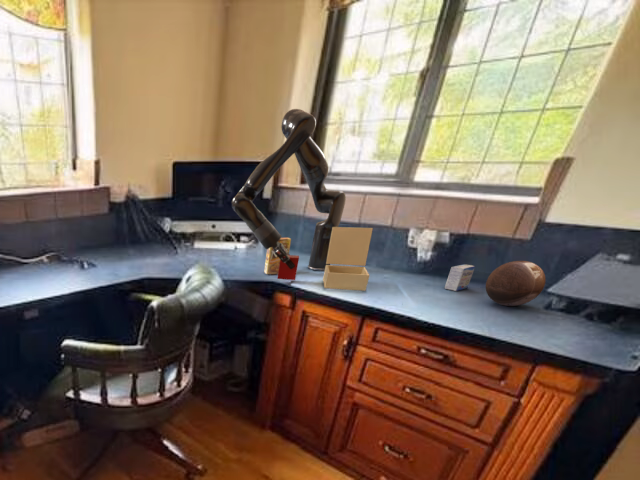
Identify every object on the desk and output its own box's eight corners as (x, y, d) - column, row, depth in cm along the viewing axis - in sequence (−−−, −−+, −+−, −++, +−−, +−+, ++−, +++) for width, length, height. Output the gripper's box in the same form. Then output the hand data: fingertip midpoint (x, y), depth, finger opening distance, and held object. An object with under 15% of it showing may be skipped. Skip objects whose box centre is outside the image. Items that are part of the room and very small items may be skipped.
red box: (277, 276, 178) (281, 254, 174) (295, 277, 176) (298, 255, 172) (277, 278, 175) (280, 256, 170) (295, 280, 172) (299, 257, 168)
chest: (365, 292, 162) (369, 275, 159) (324, 290, 166) (327, 272, 163) (360, 283, 173) (364, 266, 170) (322, 281, 178) (325, 264, 174)
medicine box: (455, 291, 161) (464, 268, 157) (443, 288, 164) (451, 266, 160) (467, 288, 164) (475, 266, 160) (455, 285, 167) (463, 263, 163)
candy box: (266, 274, 188) (271, 239, 181) (263, 272, 192) (268, 237, 185) (286, 274, 188) (291, 238, 181) (282, 271, 192) (288, 237, 185)
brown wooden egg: (517, 314, 138) (537, 268, 130) (469, 301, 150) (485, 259, 142) (543, 307, 143) (564, 263, 135) (494, 296, 155) (512, 254, 148)
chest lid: (372, 228, 165) (370, 229, 170) (332, 226, 170) (331, 228, 174) (365, 265, 169) (363, 266, 174) (326, 263, 174) (325, 264, 178)
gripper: (274, 230, 162) (301, 264, 164) (275, 225, 174) (301, 256, 176) (258, 244, 166) (285, 276, 168) (260, 238, 178) (285, 268, 180)
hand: (293, 266), depth 172 cm, fingers closed on red box, 4 cm apart
